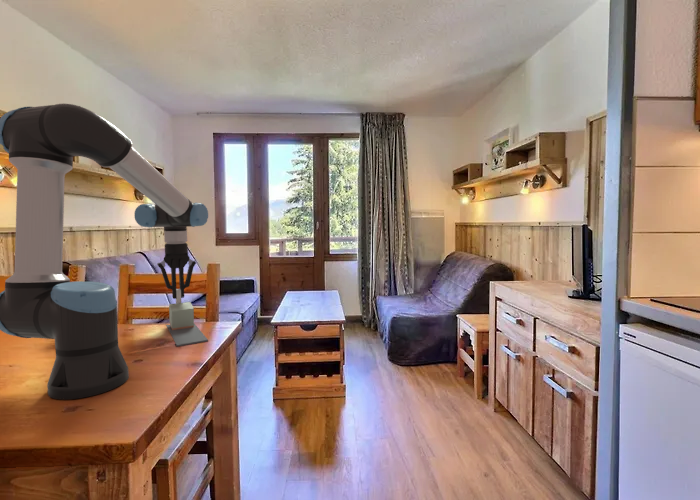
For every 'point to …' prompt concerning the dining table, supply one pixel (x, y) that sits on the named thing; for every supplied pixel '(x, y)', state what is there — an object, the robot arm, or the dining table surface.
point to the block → (181, 315)
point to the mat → (187, 335)
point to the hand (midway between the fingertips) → (178, 306)
